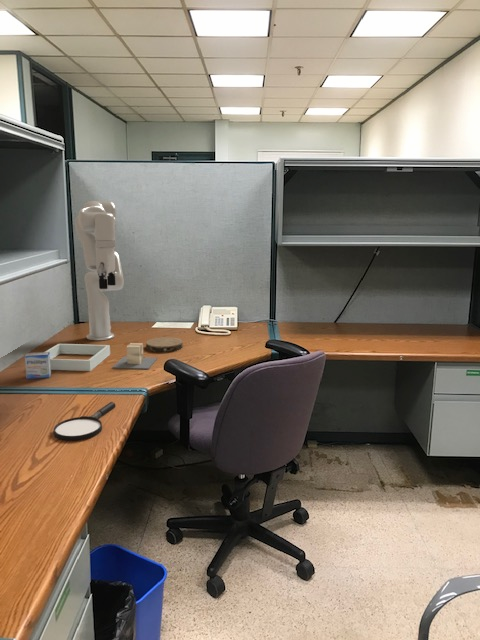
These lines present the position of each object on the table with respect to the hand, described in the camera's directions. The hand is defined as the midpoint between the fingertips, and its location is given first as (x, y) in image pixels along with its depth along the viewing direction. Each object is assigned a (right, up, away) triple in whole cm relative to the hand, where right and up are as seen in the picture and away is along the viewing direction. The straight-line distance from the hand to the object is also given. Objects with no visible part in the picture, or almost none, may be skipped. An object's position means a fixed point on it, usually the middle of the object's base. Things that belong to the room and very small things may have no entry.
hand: (107, 287), depth 199 cm
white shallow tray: (-12, -30, -5) cm, 33 cm away
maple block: (+13, -30, -7) cm, 33 cm away
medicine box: (-19, -34, -23) cm, 45 cm away
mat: (+13, -31, -7) cm, 34 cm away
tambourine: (+21, -26, +16) cm, 37 cm away
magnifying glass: (+12, -43, -61) cm, 75 cm away
